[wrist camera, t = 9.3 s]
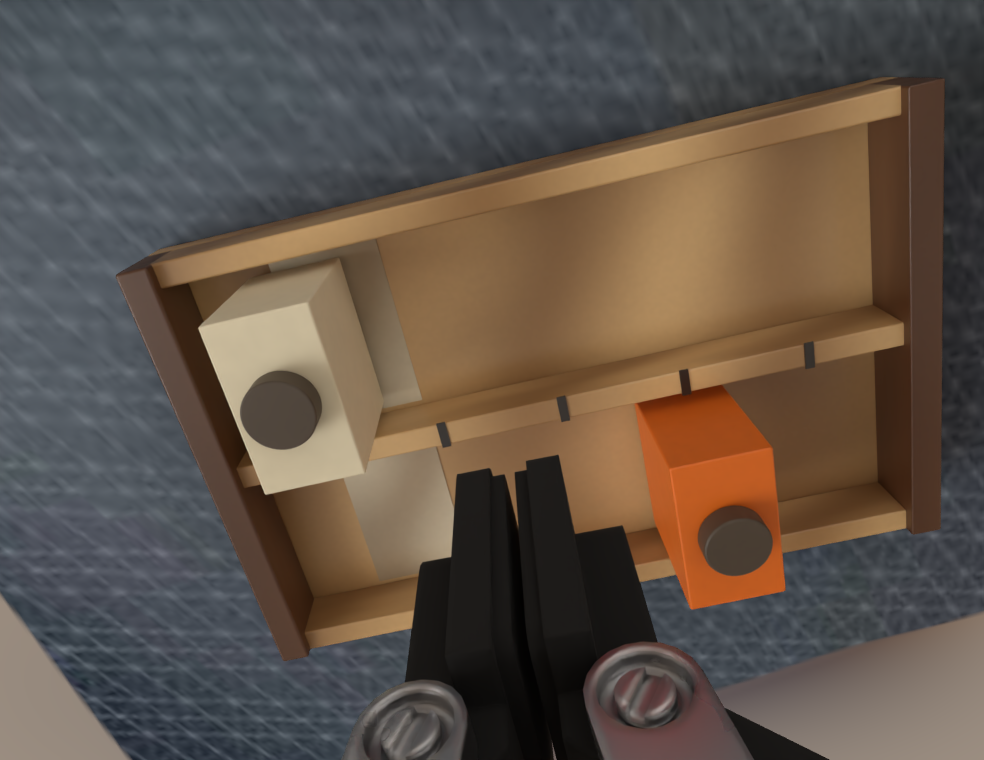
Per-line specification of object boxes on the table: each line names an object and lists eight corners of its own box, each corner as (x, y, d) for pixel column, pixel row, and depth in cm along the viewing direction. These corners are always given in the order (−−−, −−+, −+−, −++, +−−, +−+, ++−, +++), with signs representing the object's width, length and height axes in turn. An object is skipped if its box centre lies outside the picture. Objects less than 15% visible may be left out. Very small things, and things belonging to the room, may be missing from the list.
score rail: (881, 76, 23) (945, 77, 20) (890, 480, 29) (941, 529, 26) (158, 249, 25) (113, 275, 22) (301, 601, 31) (282, 662, 27)
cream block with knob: (339, 256, 24) (301, 311, 18) (384, 401, 26) (362, 488, 20) (249, 277, 24) (185, 337, 18) (301, 420, 26) (257, 511, 20)
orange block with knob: (718, 379, 26) (784, 460, 20) (733, 504, 28) (797, 609, 22) (633, 398, 26) (676, 483, 21) (654, 521, 28) (698, 628, 22)
